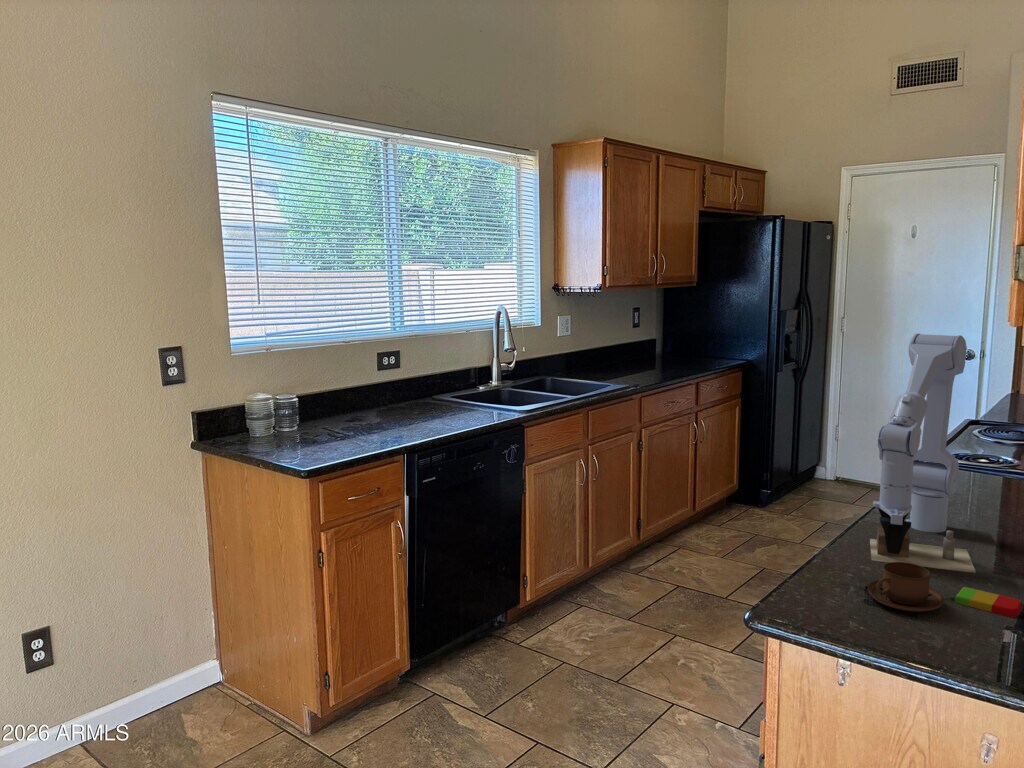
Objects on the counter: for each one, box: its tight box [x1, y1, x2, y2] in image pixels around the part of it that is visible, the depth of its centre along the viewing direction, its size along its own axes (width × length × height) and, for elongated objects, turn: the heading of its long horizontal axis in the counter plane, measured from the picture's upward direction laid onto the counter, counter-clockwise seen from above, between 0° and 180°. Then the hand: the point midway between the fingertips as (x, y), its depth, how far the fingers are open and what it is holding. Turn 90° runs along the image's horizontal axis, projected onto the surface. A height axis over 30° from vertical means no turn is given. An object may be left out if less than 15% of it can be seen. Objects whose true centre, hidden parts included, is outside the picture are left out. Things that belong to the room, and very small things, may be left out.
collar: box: [876, 526, 911, 558], centre depth 156 cm, size 6×6×4 cm
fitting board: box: [869, 530, 977, 574], centre depth 154 cm, size 13×18×6 cm
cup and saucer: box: [867, 562, 945, 613], centre depth 135 cm, size 12×12×6 cm
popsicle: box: [954, 586, 1023, 618], centre depth 135 cm, size 6×15×2 cm, turn 47°
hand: (892, 547), depth 156 cm, fingers closed on collar, 6 cm apart
